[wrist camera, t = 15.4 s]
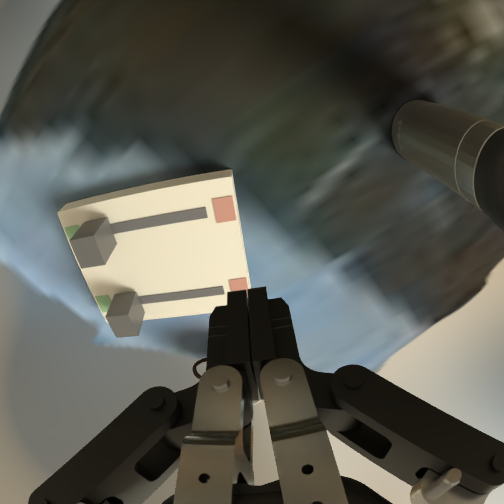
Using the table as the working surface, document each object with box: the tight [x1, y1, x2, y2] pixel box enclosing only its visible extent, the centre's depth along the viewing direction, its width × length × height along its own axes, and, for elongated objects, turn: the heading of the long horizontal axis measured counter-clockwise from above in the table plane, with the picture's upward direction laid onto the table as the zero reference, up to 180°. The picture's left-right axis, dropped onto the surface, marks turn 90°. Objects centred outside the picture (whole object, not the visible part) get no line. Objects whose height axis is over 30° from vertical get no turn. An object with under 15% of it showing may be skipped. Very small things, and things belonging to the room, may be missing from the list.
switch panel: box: [57, 169, 251, 323], centre depth 42 cm, size 24×20×3 cm
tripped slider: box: [69, 217, 117, 269], centre depth 36 cm, size 4×4×5 cm
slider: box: [105, 292, 145, 337], centre depth 42 cm, size 4×4×5 cm
